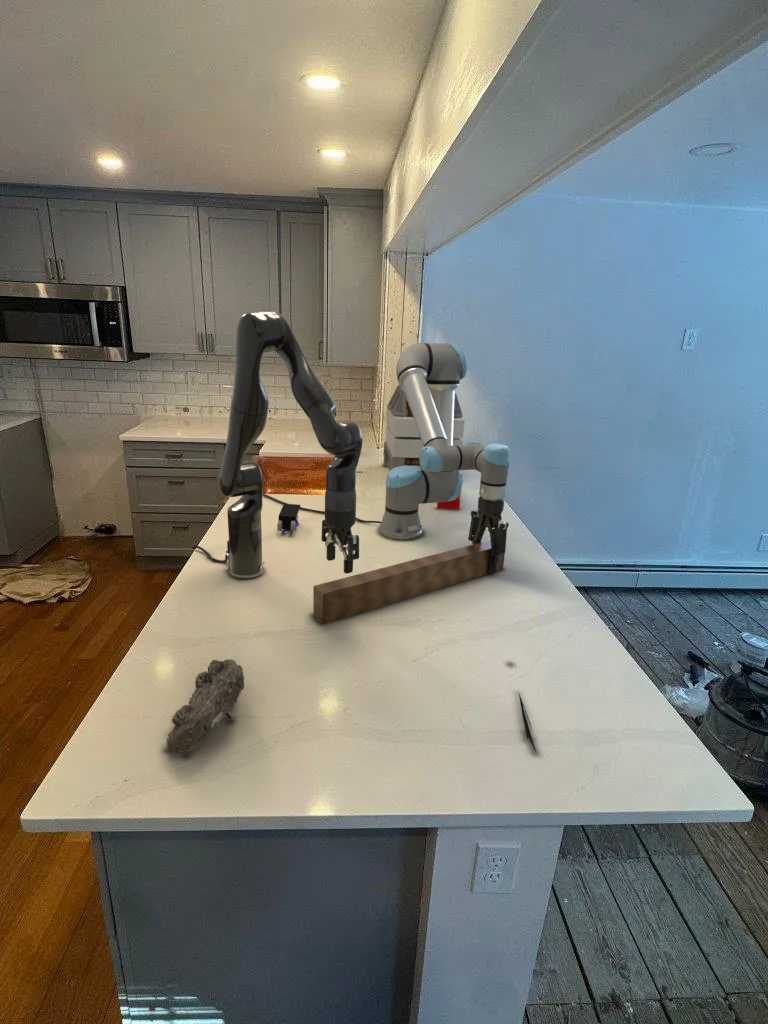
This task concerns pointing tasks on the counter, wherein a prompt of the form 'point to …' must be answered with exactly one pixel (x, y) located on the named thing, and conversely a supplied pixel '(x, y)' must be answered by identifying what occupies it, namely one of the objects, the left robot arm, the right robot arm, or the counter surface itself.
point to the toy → (450, 503)
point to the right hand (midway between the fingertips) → (483, 568)
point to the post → (400, 581)
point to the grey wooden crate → (409, 432)
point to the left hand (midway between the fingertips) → (339, 566)
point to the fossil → (206, 705)
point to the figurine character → (288, 518)
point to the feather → (526, 723)
